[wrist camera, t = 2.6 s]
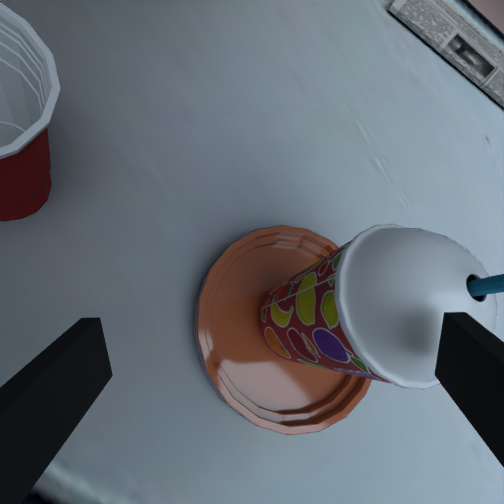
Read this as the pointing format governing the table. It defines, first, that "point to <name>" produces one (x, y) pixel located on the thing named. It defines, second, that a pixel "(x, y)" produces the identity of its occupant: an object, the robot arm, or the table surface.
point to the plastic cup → (24, 116)
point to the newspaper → (456, 41)
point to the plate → (254, 345)
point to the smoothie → (379, 305)
